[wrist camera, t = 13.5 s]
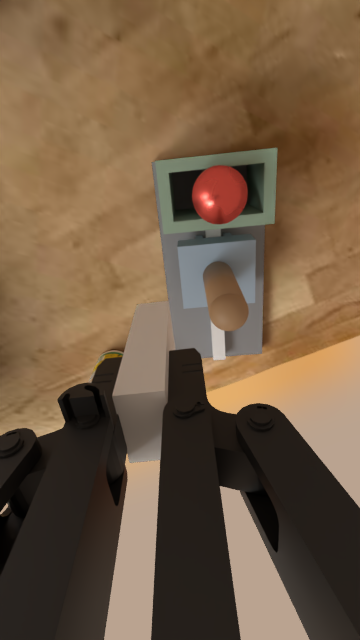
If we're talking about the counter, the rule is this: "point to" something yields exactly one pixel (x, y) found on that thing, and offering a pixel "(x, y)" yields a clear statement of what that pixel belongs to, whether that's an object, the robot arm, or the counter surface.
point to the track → (199, 317)
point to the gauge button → (219, 194)
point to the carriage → (219, 277)
